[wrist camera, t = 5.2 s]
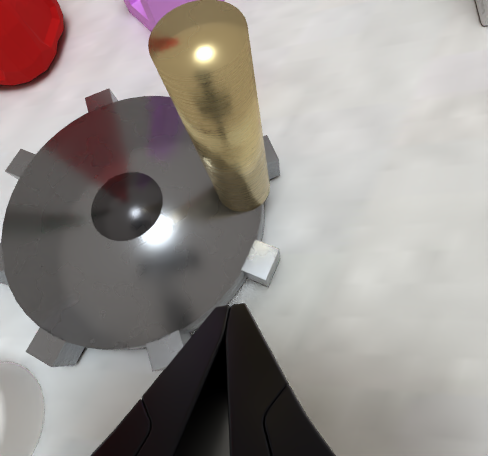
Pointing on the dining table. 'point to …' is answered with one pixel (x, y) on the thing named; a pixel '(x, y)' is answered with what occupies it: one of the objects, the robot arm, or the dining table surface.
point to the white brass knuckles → (19, 410)
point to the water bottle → (28, 38)
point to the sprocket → (146, 201)
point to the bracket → (152, 9)
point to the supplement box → (483, 11)
